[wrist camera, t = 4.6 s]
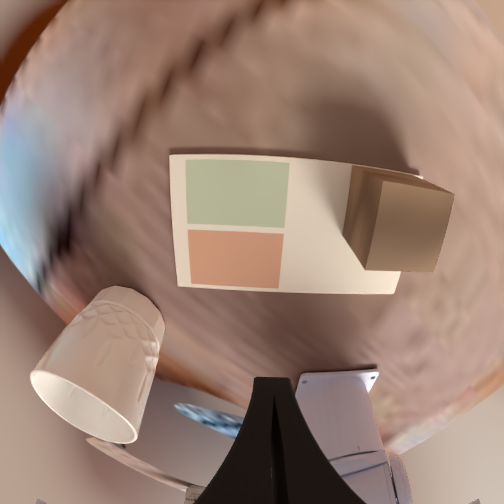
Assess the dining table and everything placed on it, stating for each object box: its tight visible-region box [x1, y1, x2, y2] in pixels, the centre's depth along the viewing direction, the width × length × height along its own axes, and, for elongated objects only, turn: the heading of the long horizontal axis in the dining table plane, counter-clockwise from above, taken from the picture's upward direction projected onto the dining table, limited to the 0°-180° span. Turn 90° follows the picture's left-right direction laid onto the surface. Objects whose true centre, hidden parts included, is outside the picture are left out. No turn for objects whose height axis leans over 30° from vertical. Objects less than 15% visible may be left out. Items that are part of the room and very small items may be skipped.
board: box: [169, 154, 423, 294], centre depth 17 cm, size 9×16×1 cm, turn 88°
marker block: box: [342, 165, 455, 272], centre depth 14 cm, size 4×4×4 cm
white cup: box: [30, 285, 165, 443], centre depth 17 cm, size 8×8×10 cm
